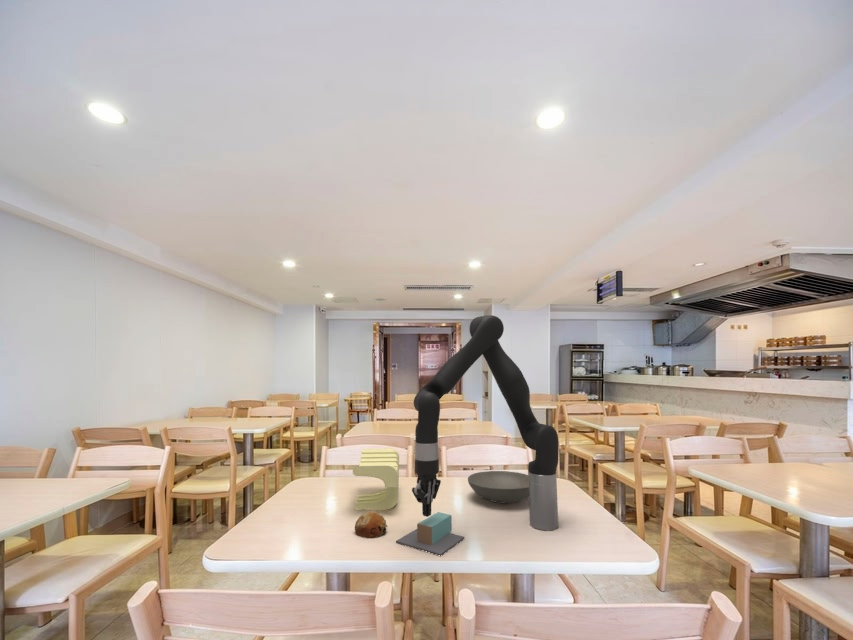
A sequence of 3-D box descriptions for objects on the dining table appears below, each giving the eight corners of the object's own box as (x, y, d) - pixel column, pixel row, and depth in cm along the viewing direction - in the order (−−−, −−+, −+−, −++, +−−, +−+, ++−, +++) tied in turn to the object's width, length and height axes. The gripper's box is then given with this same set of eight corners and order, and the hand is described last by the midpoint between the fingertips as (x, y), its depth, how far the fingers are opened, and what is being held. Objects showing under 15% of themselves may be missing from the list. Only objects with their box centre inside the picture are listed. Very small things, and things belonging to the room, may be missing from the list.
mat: (422, 527, 135) (422, 525, 135) (464, 538, 126) (464, 536, 127) (396, 542, 124) (396, 540, 124) (440, 556, 115) (440, 554, 115)
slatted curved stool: (397, 517, 145) (397, 465, 147) (352, 518, 144) (352, 466, 146) (399, 491, 174) (399, 448, 176) (361, 492, 174) (362, 449, 176)
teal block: (438, 512, 134) (417, 523, 124) (451, 515, 131) (431, 527, 121) (438, 527, 133) (417, 541, 124) (451, 531, 131) (431, 545, 121)
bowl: (547, 512, 149) (547, 488, 150) (471, 512, 150) (470, 488, 151) (530, 489, 176) (529, 469, 177) (465, 489, 177) (465, 469, 178)
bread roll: (375, 536, 137) (369, 511, 140) (395, 529, 132) (388, 504, 135) (353, 546, 130) (346, 520, 133) (373, 539, 124) (366, 512, 127)
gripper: (424, 462, 119) (424, 525, 117) (448, 454, 130) (448, 511, 128) (404, 459, 123) (403, 519, 121) (428, 451, 134) (428, 506, 132)
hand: (426, 515), depth 124 cm, fingers closed
